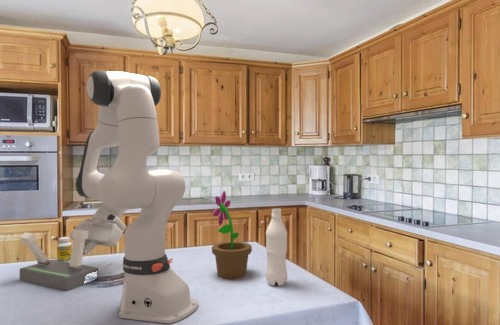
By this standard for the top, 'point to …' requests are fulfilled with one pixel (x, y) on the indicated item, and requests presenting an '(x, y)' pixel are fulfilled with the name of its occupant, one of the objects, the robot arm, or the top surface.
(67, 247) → the supplement bottle
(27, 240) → the on lever
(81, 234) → the lever
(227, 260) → the flowerpot
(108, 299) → the top surface
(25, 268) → the switch box
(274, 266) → the water bottle
